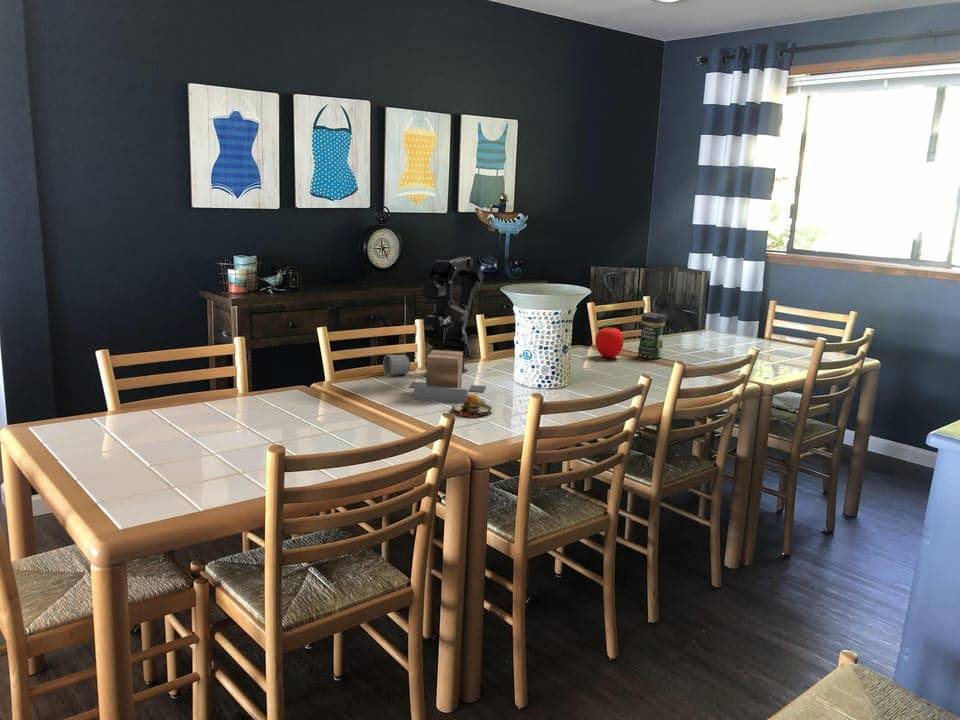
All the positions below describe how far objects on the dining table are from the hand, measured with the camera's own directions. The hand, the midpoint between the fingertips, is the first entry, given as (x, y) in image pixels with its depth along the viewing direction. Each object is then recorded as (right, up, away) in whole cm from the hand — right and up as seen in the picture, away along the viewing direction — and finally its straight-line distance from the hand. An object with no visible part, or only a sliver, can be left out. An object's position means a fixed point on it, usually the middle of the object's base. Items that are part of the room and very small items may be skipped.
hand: (441, 342), depth 267 cm
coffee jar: (+84, -5, +56) cm, 101 cm away
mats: (+2, -15, -8) cm, 17 cm away
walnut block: (+1, -17, -16) cm, 23 cm away
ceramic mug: (-17, -11, +8) cm, 22 cm away
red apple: (+66, -5, +51) cm, 84 cm away
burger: (+11, -22, -36) cm, 43 cm away
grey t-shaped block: (+1, -18, -21) cm, 27 cm away
